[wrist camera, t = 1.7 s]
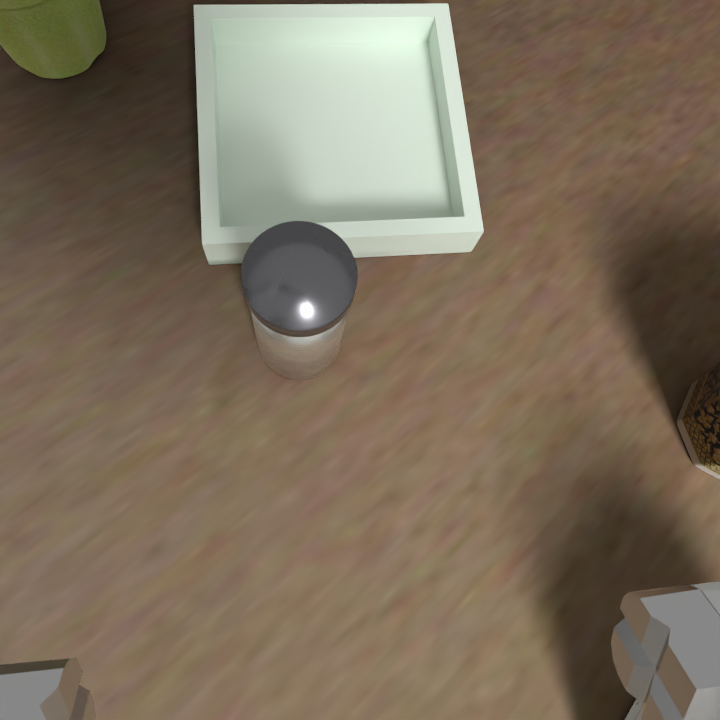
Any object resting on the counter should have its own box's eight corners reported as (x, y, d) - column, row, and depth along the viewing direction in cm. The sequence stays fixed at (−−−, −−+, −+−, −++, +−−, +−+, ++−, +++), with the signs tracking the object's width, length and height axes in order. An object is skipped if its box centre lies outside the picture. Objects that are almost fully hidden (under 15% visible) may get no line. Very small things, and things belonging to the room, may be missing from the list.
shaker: (258, 385, 36) (243, 332, 26) (253, 302, 37) (238, 223, 28) (345, 378, 37) (362, 325, 27) (338, 297, 38) (351, 218, 28)
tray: (208, 264, 38) (201, 244, 35) (200, 38, 42) (193, 4, 39) (471, 251, 39) (483, 231, 37) (438, 36, 43) (448, 3, 41)
